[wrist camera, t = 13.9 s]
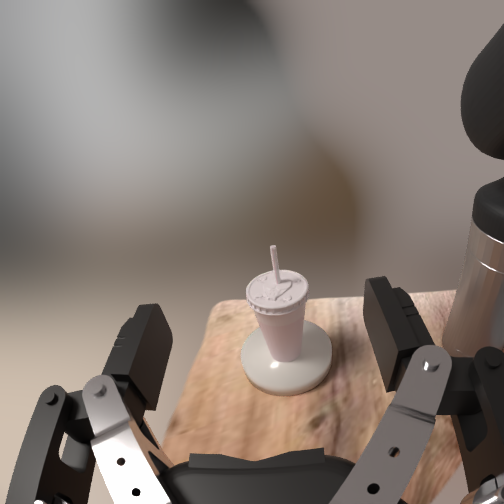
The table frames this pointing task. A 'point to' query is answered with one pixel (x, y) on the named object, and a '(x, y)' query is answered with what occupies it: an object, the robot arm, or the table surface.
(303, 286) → the smoothie
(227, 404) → the table surface
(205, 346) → the table surface
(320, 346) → the trivet
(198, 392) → the table surface
